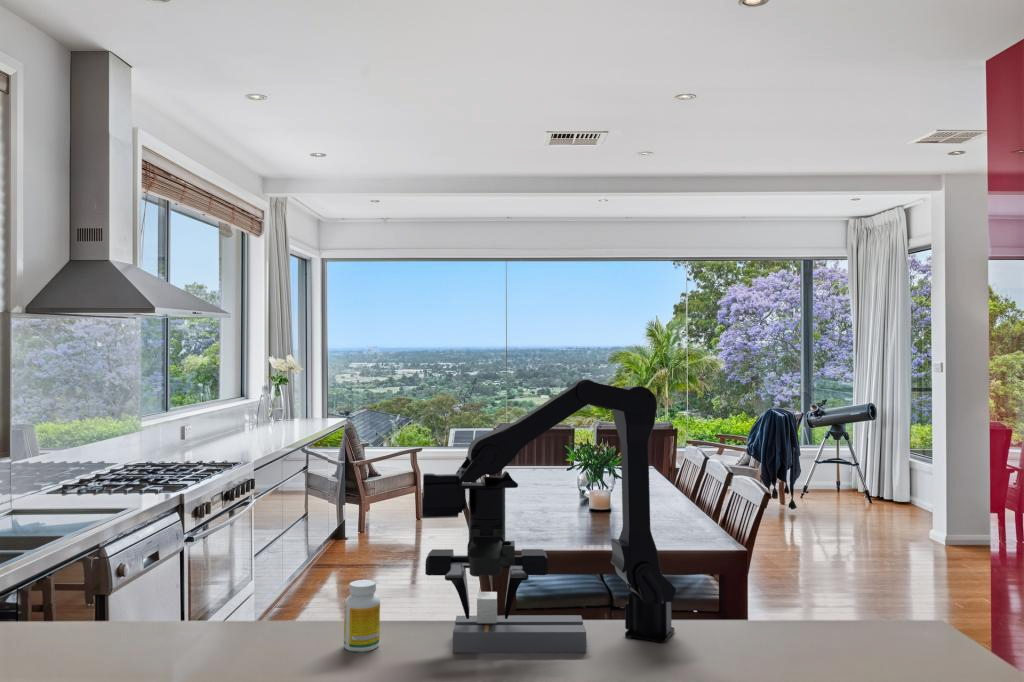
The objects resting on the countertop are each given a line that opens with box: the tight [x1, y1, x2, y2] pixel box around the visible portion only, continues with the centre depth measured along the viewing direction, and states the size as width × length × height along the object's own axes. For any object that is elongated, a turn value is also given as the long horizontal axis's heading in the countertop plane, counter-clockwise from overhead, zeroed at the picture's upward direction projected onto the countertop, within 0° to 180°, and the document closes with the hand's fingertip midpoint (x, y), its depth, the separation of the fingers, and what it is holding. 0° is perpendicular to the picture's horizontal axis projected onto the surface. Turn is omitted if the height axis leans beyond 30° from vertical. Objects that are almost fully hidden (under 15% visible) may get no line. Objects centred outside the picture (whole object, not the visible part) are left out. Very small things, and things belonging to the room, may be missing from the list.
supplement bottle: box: [343, 579, 381, 653], centre depth 114 cm, size 5×5×10 cm
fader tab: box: [476, 591, 498, 625], centre depth 116 cm, size 3×4×6 cm
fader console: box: [452, 614, 587, 654], centre depth 116 cm, size 20×8×3 cm, turn 90°
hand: (487, 618), depth 116 cm, fingers open, 6 cm apart
